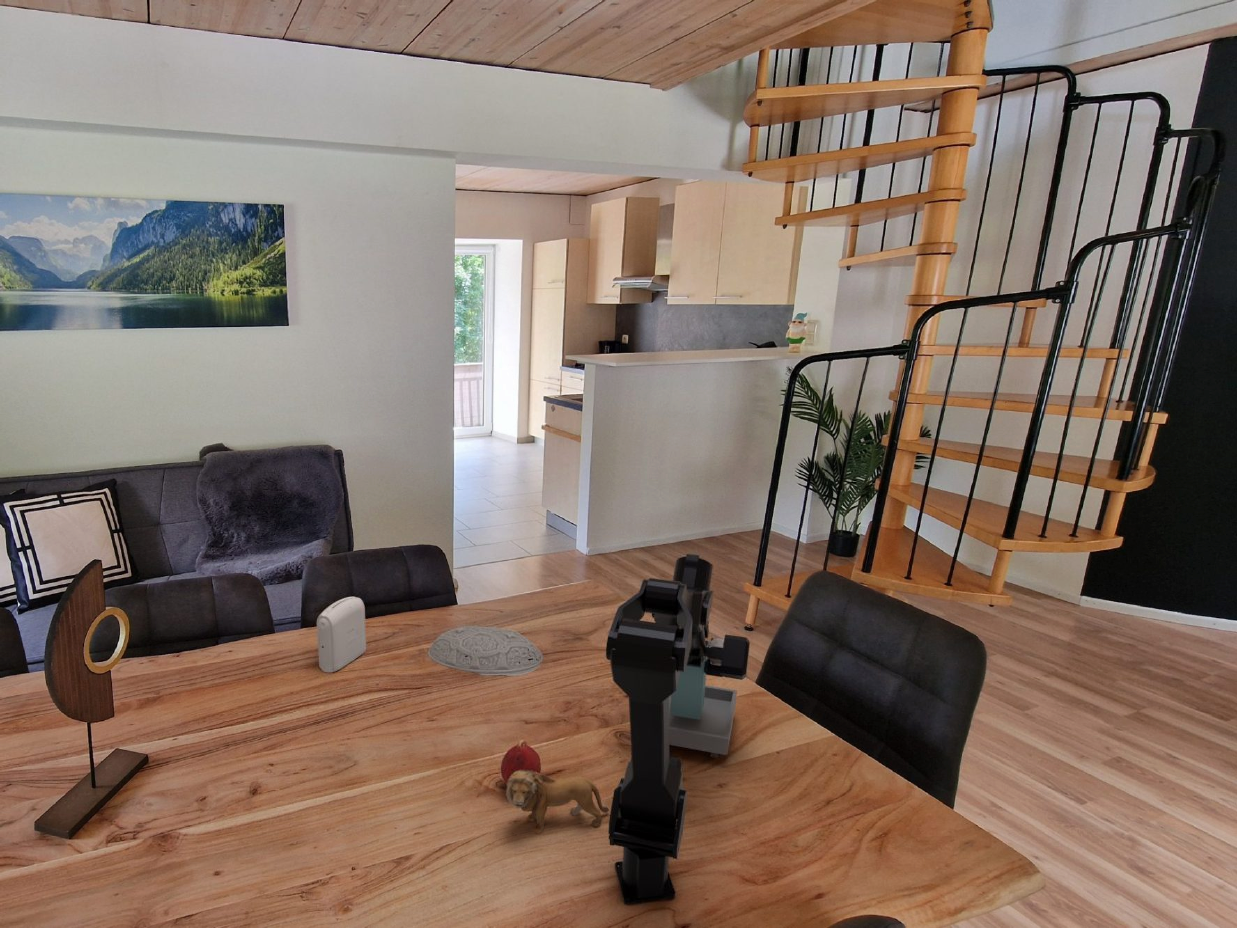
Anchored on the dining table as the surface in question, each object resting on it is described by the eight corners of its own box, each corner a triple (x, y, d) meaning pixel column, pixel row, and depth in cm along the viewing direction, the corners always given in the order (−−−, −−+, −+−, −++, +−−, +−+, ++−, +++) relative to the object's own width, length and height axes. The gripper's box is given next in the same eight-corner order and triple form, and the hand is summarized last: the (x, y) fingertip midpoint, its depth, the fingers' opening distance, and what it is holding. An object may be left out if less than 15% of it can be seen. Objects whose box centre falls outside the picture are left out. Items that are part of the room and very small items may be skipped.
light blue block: (699, 719, 122) (704, 657, 120) (669, 714, 123) (673, 653, 121) (703, 704, 127) (708, 644, 125) (674, 699, 128) (678, 640, 126)
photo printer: (334, 675, 140) (331, 613, 137) (315, 670, 141) (312, 609, 138) (369, 651, 149) (367, 593, 146) (352, 647, 150) (349, 589, 148)
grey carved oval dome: (535, 680, 140) (535, 646, 140) (409, 670, 145) (409, 636, 144) (556, 651, 156) (556, 620, 155) (442, 642, 160) (441, 612, 159)
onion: (533, 805, 107) (534, 756, 105) (494, 798, 108) (495, 749, 106) (545, 780, 113) (546, 733, 111) (508, 774, 114) (509, 727, 112)
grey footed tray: (726, 766, 117) (728, 739, 116) (631, 748, 121) (633, 722, 120) (734, 714, 132) (737, 690, 131) (650, 700, 135) (651, 676, 134)
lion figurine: (509, 846, 99) (510, 787, 97) (501, 820, 104) (502, 763, 102) (614, 824, 104) (617, 767, 102) (602, 800, 109) (604, 745, 107)
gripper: (754, 592, 114) (752, 628, 127) (634, 576, 118) (645, 613, 131) (746, 663, 108) (745, 694, 121) (620, 643, 112) (633, 676, 125)
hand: (691, 666), depth 125 cm, fingers closed on light blue block, 5 cm apart
